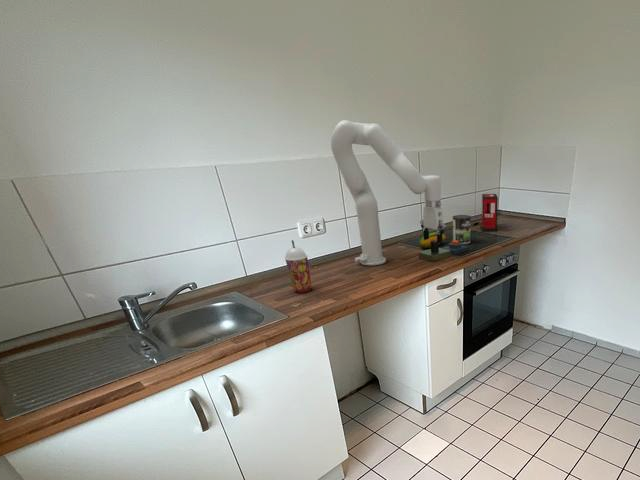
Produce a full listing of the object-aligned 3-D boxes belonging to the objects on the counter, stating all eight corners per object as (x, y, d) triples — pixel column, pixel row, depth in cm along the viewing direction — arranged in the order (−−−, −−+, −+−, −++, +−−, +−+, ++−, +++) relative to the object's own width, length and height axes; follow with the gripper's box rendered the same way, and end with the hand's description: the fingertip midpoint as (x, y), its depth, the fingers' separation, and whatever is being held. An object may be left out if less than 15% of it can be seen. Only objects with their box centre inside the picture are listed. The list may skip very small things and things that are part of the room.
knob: (440, 251, 194) (440, 240, 191) (434, 252, 191) (434, 241, 188) (434, 249, 196) (434, 239, 193) (429, 251, 194) (428, 240, 191)
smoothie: (289, 290, 157) (277, 240, 147) (308, 285, 162) (297, 236, 152) (298, 295, 152) (286, 244, 142) (317, 289, 157) (307, 240, 147)
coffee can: (474, 242, 221) (474, 216, 213) (460, 245, 215) (460, 218, 208) (462, 239, 228) (462, 214, 220) (449, 242, 222) (448, 216, 215)
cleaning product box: (496, 231, 244) (497, 197, 234) (482, 231, 244) (483, 197, 234) (494, 225, 258) (496, 193, 248) (481, 226, 258) (482, 194, 248)
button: (455, 245, 200) (455, 242, 199) (450, 244, 202) (450, 241, 202) (460, 244, 202) (460, 240, 202) (455, 243, 205) (455, 239, 204)
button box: (454, 254, 198) (454, 247, 196) (442, 251, 204) (441, 244, 202) (468, 250, 205) (468, 243, 203) (456, 247, 210) (456, 240, 208)
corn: (415, 234, 206) (440, 227, 219) (415, 248, 210) (439, 241, 223) (425, 237, 202) (450, 230, 215) (425, 251, 206) (449, 244, 219)
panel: (432, 261, 188) (432, 255, 187) (418, 258, 194) (418, 251, 193) (450, 256, 196) (450, 250, 194) (437, 252, 202) (437, 246, 201)
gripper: (451, 205, 179) (450, 242, 188) (426, 201, 190) (426, 236, 198) (439, 207, 175) (439, 245, 183) (414, 202, 185) (415, 239, 194)
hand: (432, 240), depth 191 cm, fingers open, 9 cm apart
